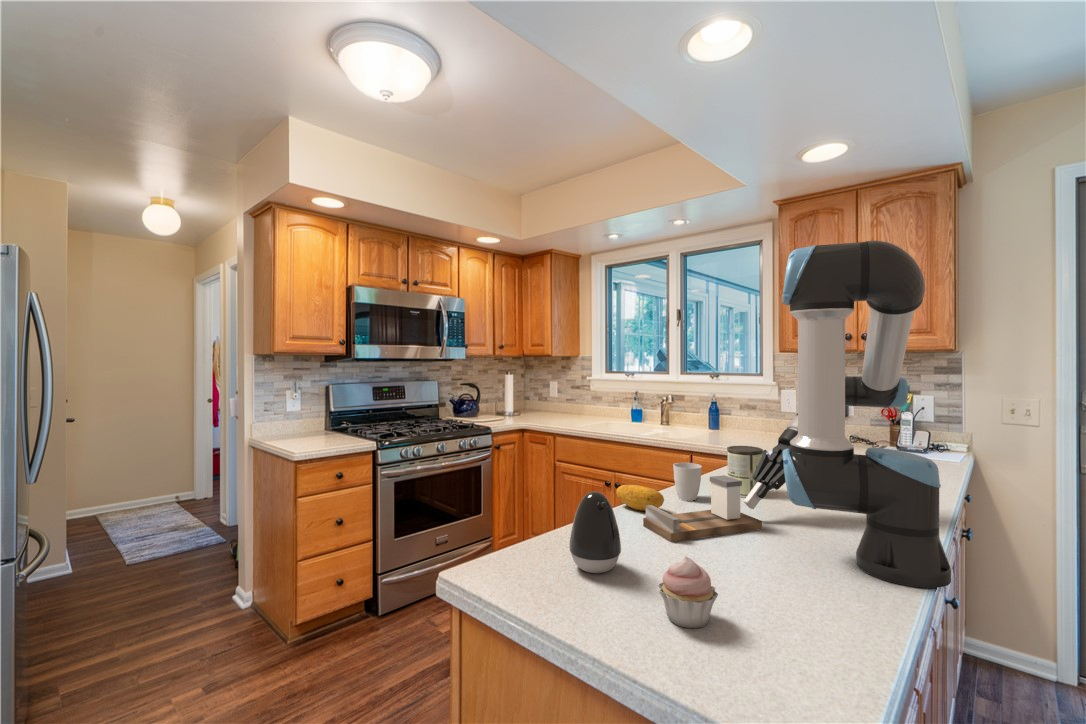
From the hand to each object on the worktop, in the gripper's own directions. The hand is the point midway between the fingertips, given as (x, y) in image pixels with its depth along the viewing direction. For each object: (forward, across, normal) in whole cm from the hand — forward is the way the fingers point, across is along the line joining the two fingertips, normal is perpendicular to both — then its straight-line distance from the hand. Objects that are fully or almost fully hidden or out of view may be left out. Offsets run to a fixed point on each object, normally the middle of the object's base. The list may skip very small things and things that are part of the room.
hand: (748, 505), depth 129 cm
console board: (+13, 0, +7) cm, 15 cm away
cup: (+5, +23, -2) cm, 24 cm away
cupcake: (+34, -36, +28) cm, 57 cm away
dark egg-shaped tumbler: (+38, -13, +32) cm, 51 cm away
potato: (+18, +19, +12) cm, 28 cm away
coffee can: (-10, +22, -16) cm, 29 cm away
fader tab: (+6, 0, +4) cm, 7 cm away
